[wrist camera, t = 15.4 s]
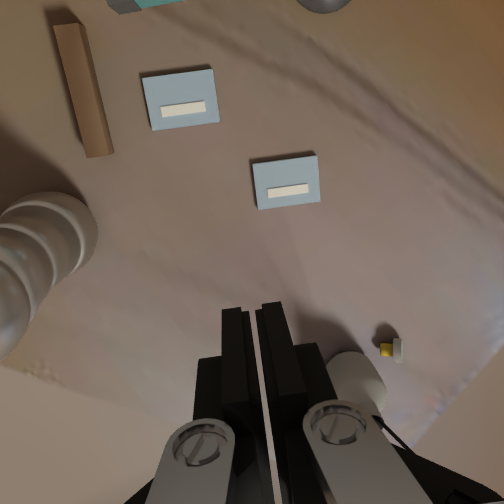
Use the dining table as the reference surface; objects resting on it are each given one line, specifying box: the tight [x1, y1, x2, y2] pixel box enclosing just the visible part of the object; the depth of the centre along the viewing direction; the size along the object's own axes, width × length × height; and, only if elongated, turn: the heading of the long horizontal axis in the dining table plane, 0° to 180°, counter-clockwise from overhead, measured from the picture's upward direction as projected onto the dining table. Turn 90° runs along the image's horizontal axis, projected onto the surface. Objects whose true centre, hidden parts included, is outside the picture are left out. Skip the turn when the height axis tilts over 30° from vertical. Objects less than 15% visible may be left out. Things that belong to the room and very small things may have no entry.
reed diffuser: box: [326, 338, 415, 454], centre depth 30 cm, size 10×7×20 cm
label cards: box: [142, 69, 320, 210], centre depth 32 cm, size 12×11×1 cm
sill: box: [53, 23, 114, 158], centre depth 30 cm, size 2×8×2 cm, turn 7°
